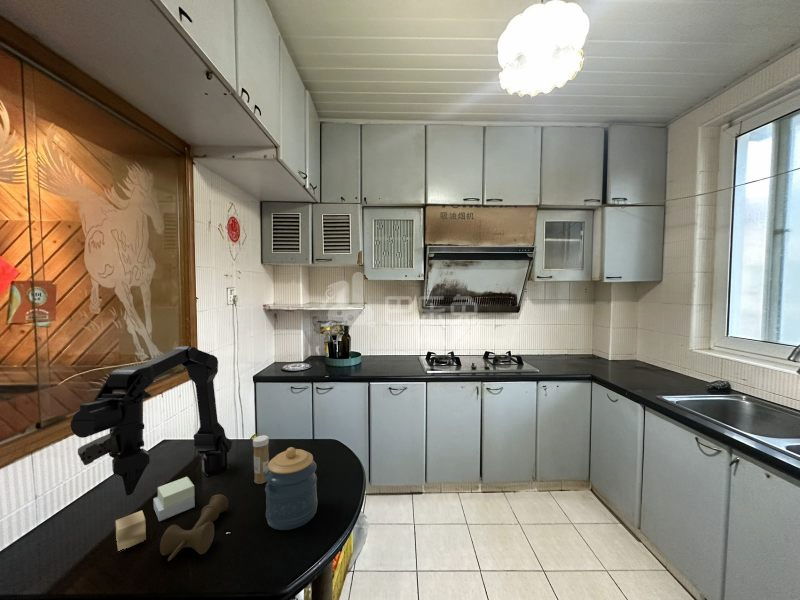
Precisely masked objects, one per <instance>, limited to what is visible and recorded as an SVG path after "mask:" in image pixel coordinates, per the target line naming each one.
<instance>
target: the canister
mask: <svg viewBox="0 0 800 600" xmlns="http://www.w3.org/2000/svg"><path fill="white" fill-rule="evenodd" d="M316 471H317V463H316V461H314V456H313V454H312V453H310V452H309V451H306V450H304V449H301V448H299V449H298V448H295V447H293V446H290V447H288V448H287V449H286V450H284V451H282V452H280V453H278V454H276V455H275V456H274V457H272V458H271V460H269V464H268V469H267V471H266V473H265V479H266V481H267V482H266V483H265V488H264V491H265V507H266V508H265V518H266V522H267V524H268V526H269V527H271V528H272V529H275V530H276V531H277V530H279V531H290V530H293V529H297V528H300V527H302V526H303V525H306V524H307V523H308V522H310V521H311V520H312V519H313V518H314V517H315V515H316V513H317V508H318V497H317V496H318V495H317V493H318V492H317V481H318V477H317V474H316V473H315V472H316Z"/></svg>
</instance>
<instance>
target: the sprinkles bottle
mask: <svg viewBox="0 0 800 600" xmlns="http://www.w3.org/2000/svg"><path fill="white" fill-rule="evenodd" d="M269 444H270V440H269V436H268V435H264V434H263V435H258V436H256V437H254V438H253V439H252V446H253V471H254V480H253V481H254V484H257V485H260V484H261V485H262V484H264V483H265V484H266V483H267V481H266V479H265V473H266V471H267V469H268V464H269V462H270V454H269Z"/></svg>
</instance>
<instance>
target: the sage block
mask: <svg viewBox="0 0 800 600" xmlns="http://www.w3.org/2000/svg"><path fill="white" fill-rule="evenodd" d="M157 497H158V499H159V501H160V503H161V504H162V506H163V508H164V509H165V508H168V507H170V506H172V505H175V504H177V503H180V502H182V501H184V500H187V499H189V498H192V497H194V498H195V485H194V484H193V482H192V481H191V479H190V478H189V477H188V476H185V477H182V478H180V479H179V478H178V479H177V480H174V481H171V482H169V483H165V484H164V485H160V486H158V487H157Z"/></svg>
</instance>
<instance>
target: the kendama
mask: <svg viewBox="0 0 800 600" xmlns="http://www.w3.org/2000/svg"><path fill="white" fill-rule="evenodd" d="M228 507H229V499H228V497H227V496H225V495H223V494H220V493H218V494H214V495H212V496H211V497H210V499H209V501H208V504H207V505H205V506H203V507H202V509H201V511H200V517H199V519H198V520H197V521H196V523H195V524H194V526H193V527H192V528H191V529H183V528H182V527H180V526H178V524H171V525H170V526H168V527H167V528H166V530H164V532H163V534H162V536H161V539H160V543H159V551H160V554H161V556H168V555H169V557H168V558H167V562H170V561H171V560H172V559H174V557H175V556H177V554H178V553H179V552H180V551H181V550H182V549H183V548H192V549H193V550H194V551H195V552H197V553H198V554H199V555H204V554H206V552H207V551H209V549H210V547H211V546H212V544H213V540H214V536H215V524H214V523H213V522H215V521H216V520H218V518H219V517H220V516H219V515H220V514H223V513H225V512H226V511H227V509H228Z"/></svg>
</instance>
